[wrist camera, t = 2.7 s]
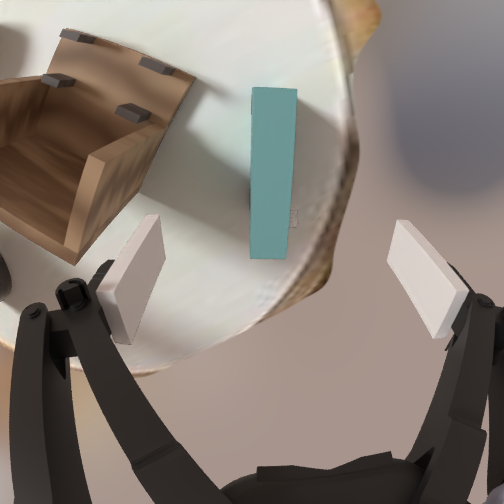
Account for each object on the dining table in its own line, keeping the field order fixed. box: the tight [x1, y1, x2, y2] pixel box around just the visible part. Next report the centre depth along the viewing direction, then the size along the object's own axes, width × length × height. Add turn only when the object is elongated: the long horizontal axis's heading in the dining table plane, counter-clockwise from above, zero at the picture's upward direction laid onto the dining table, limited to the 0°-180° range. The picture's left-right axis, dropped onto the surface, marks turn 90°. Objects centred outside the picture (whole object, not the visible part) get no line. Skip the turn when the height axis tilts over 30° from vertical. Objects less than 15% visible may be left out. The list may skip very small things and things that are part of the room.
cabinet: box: [0, 28, 196, 266], centre depth 24 cm, size 17×20×18 cm
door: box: [250, 87, 298, 259], centre depth 31 cm, size 5×16×12 cm, turn 179°
